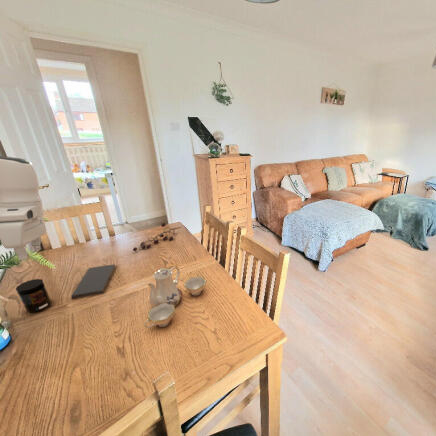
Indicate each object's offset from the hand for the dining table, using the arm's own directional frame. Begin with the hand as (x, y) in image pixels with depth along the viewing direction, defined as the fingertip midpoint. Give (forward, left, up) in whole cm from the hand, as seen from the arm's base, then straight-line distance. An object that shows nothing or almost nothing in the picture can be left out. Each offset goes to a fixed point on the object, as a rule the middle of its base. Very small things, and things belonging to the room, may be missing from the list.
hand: (30, 254), depth 75 cm
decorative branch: (+28, +52, -26) cm, 65 cm away
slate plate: (+6, +20, -26) cm, 34 cm away
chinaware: (+38, -6, -26) cm, 46 cm away
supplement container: (-8, +8, -26) cm, 29 cm away
